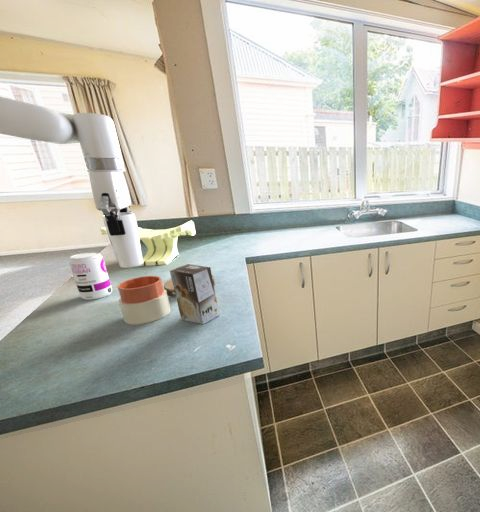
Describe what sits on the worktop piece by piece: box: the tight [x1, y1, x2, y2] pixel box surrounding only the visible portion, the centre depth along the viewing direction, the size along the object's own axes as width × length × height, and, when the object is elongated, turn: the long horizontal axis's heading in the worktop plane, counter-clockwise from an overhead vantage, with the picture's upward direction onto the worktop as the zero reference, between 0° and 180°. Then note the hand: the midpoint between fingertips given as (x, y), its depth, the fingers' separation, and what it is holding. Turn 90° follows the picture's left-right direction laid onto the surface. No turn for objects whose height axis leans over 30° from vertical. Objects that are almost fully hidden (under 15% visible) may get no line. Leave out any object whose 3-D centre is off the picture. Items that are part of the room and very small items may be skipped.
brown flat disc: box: [163, 274, 216, 298], centre depth 111 cm, size 16×16×3 cm
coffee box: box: [169, 263, 220, 325], centre depth 89 cm, size 9×6×16 cm
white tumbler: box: [102, 211, 143, 269], centre depth 83 cm, size 7×7×15 cm
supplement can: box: [68, 251, 113, 301], centre depth 102 cm, size 8×8×15 cm
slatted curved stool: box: [100, 220, 197, 267], centre depth 138 cm, size 30×16×18 cm, turn 104°
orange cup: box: [117, 275, 164, 304], centre depth 90 cm, size 10×10×11 cm
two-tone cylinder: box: [118, 288, 172, 325], centre depth 91 cm, size 12×12×6 cm
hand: (123, 231), depth 83 cm, fingers closed on white tumbler, 6 cm apart
